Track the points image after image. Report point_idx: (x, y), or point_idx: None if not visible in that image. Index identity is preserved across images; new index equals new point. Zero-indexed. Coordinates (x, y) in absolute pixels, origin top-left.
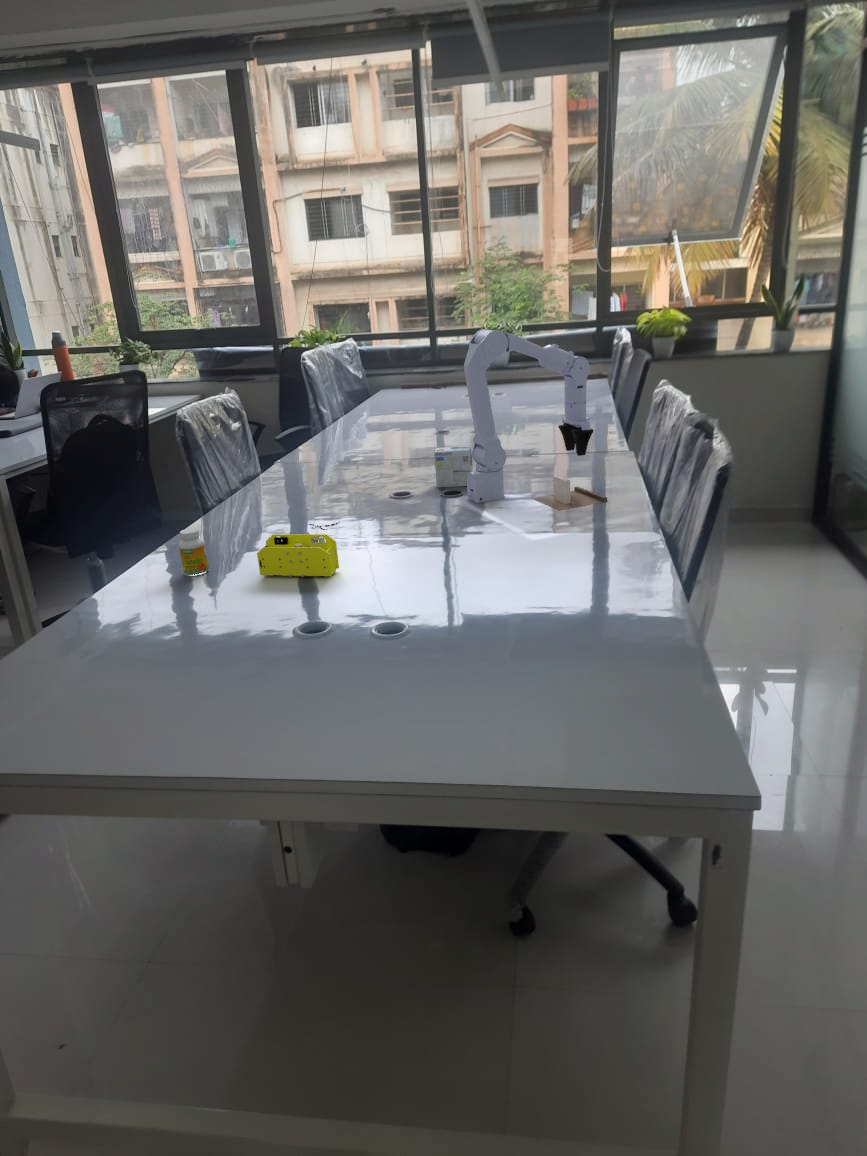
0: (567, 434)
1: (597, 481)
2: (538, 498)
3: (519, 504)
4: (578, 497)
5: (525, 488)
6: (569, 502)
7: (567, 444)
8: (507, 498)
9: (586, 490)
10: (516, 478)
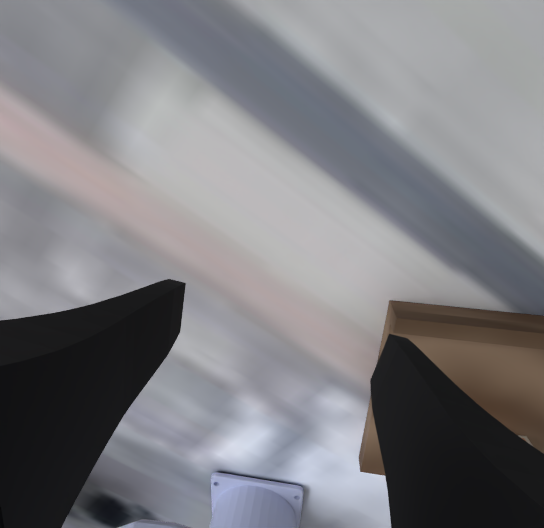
0: (100, 426)
1: (256, 80)
2: (377, 460)
3: (343, 483)
4: (490, 374)
5: (176, 371)
6: (526, 441)
7: (157, 359)
8: (256, 467)
9: (487, 334)
10: (22, 313)
